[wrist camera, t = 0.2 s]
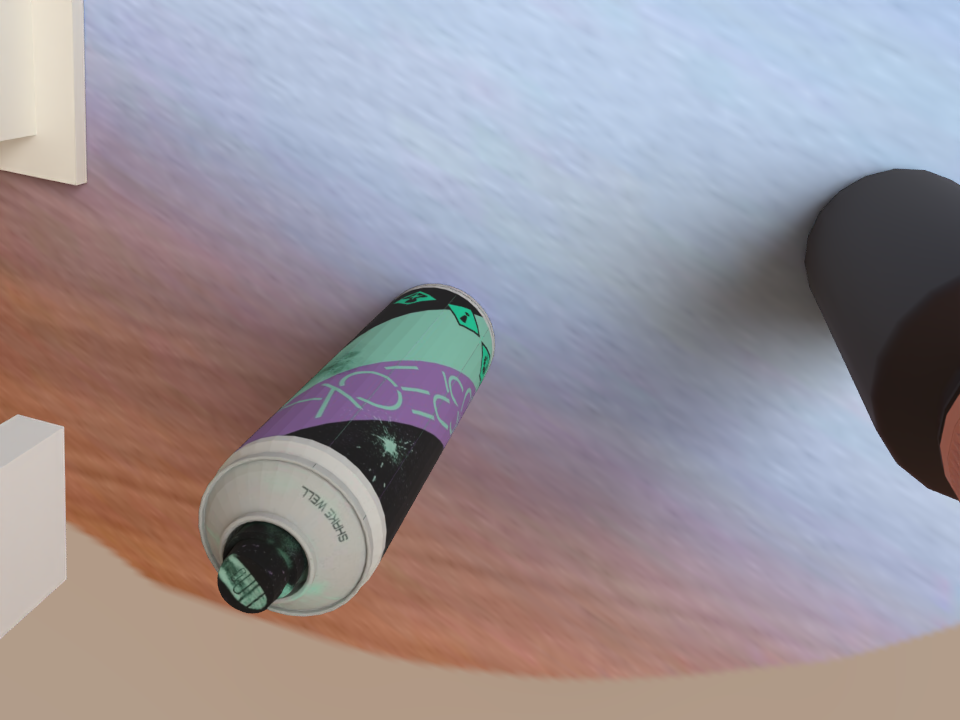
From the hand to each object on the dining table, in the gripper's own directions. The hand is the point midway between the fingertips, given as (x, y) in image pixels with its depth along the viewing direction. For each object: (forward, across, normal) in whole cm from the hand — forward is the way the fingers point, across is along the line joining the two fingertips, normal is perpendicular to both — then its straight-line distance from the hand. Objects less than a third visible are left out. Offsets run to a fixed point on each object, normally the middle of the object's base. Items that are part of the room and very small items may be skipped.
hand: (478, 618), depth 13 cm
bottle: (+28, +11, +1) cm, 30 cm away
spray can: (+28, -7, -7) cm, 30 cm away
